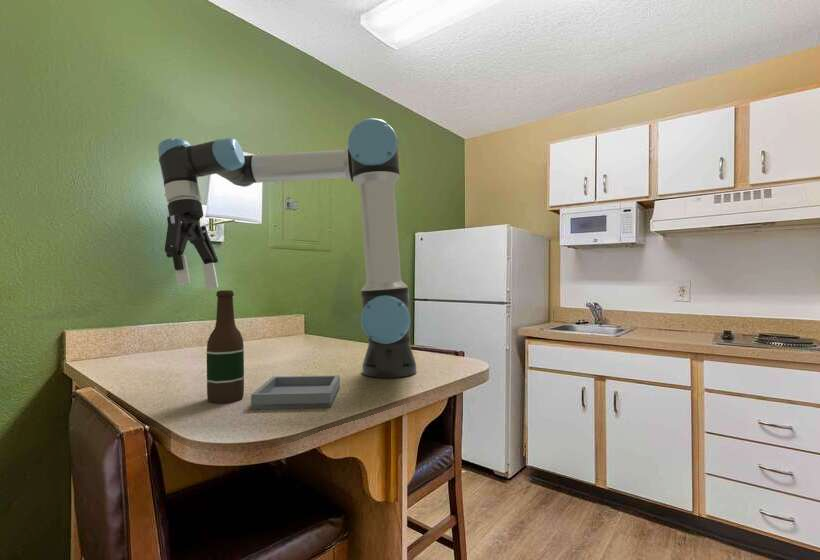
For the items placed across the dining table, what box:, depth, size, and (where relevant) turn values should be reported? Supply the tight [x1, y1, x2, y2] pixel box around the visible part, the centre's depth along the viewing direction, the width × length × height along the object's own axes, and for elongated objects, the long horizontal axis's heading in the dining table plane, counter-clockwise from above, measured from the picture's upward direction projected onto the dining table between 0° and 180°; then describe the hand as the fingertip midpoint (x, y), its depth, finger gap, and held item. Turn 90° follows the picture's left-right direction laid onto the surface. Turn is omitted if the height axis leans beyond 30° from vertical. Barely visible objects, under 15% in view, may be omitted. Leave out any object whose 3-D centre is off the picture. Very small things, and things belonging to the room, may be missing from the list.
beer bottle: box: [206, 289, 245, 405], centre depth 93 cm, size 8×8×24 cm
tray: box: [250, 374, 341, 410], centre depth 94 cm, size 16×16×3 cm
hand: (199, 286), depth 103 cm, fingers open, 13 cm apart
